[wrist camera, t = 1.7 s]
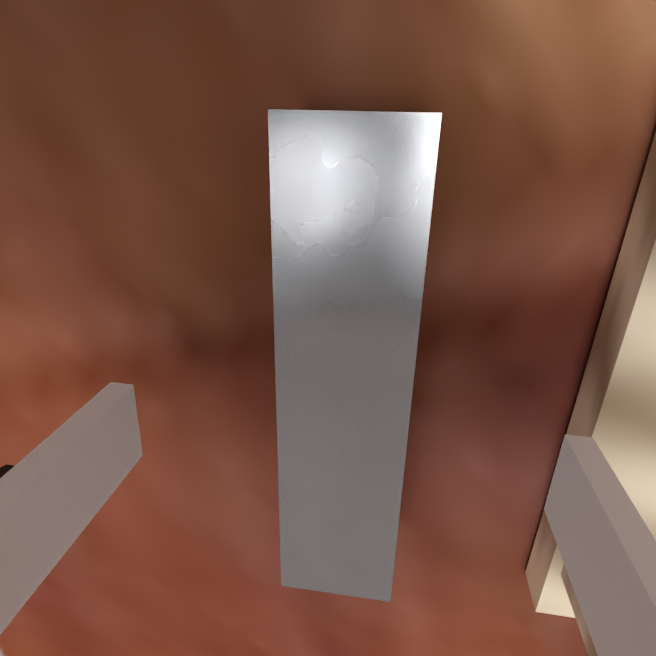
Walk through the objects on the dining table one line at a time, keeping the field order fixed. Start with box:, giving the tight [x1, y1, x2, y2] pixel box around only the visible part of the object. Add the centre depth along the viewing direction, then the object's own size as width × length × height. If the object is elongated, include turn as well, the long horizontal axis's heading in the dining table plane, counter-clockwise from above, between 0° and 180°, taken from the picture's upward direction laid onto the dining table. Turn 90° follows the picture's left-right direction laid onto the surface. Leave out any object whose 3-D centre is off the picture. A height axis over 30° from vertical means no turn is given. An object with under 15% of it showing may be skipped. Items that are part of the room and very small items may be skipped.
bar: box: [268, 109, 442, 602], centre depth 18 cm, size 18×4×4 cm, turn 179°
